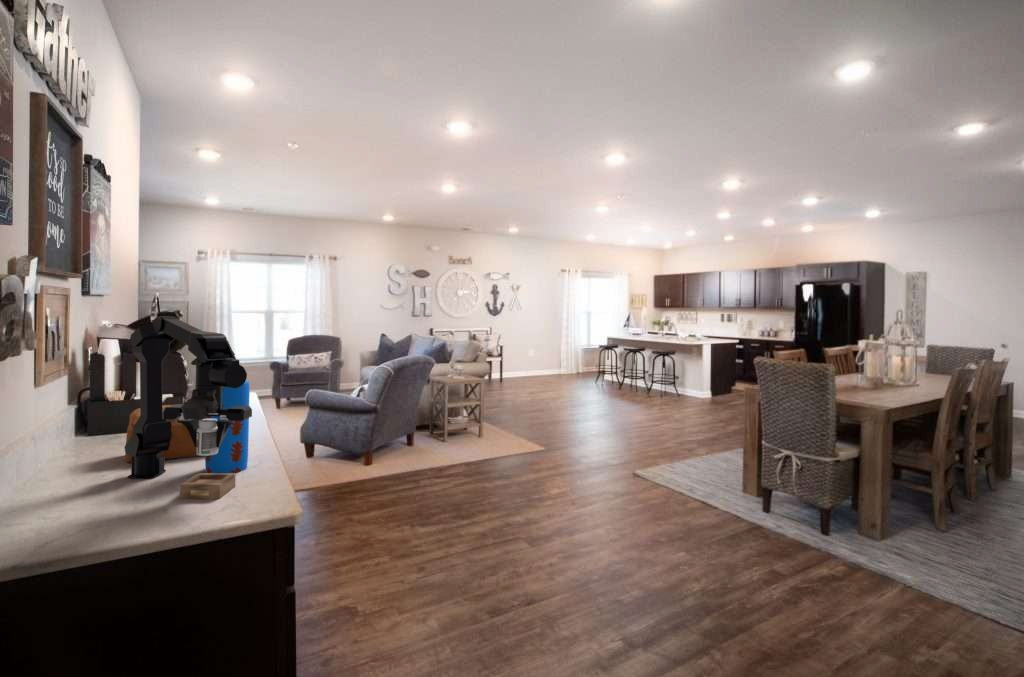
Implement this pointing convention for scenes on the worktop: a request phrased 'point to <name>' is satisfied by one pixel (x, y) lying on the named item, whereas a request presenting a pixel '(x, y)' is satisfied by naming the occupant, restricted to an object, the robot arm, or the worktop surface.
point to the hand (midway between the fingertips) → (207, 446)
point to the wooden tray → (207, 486)
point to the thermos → (232, 436)
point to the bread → (179, 441)
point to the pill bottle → (207, 437)
